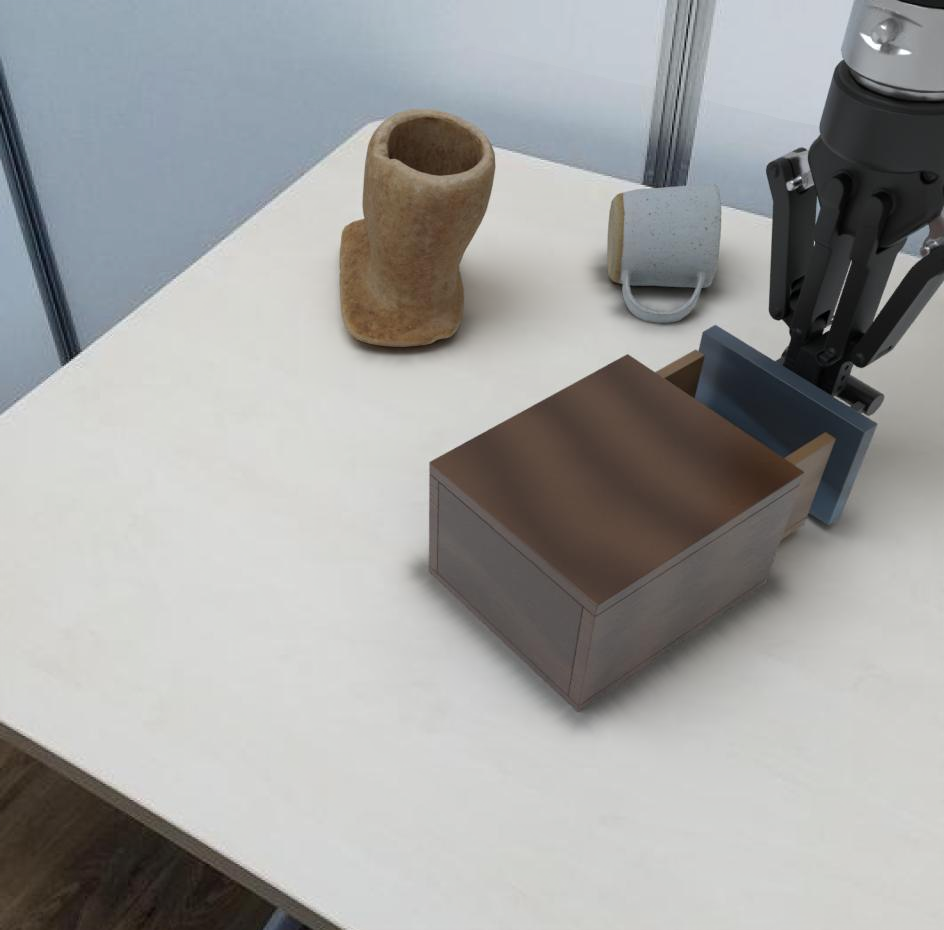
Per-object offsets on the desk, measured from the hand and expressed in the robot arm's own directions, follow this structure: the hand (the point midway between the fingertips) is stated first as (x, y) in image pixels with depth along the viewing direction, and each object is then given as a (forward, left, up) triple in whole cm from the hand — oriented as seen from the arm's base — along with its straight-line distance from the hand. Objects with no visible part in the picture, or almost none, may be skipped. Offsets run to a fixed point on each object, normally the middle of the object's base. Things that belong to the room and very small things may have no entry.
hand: (798, 424), depth 75 cm
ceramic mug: (+5, -21, -3) cm, 22 cm away
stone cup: (+25, -21, -3) cm, 32 cm away
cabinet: (+15, +10, -3) cm, 18 cm away
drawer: (+6, +4, -2) cm, 7 cm away
